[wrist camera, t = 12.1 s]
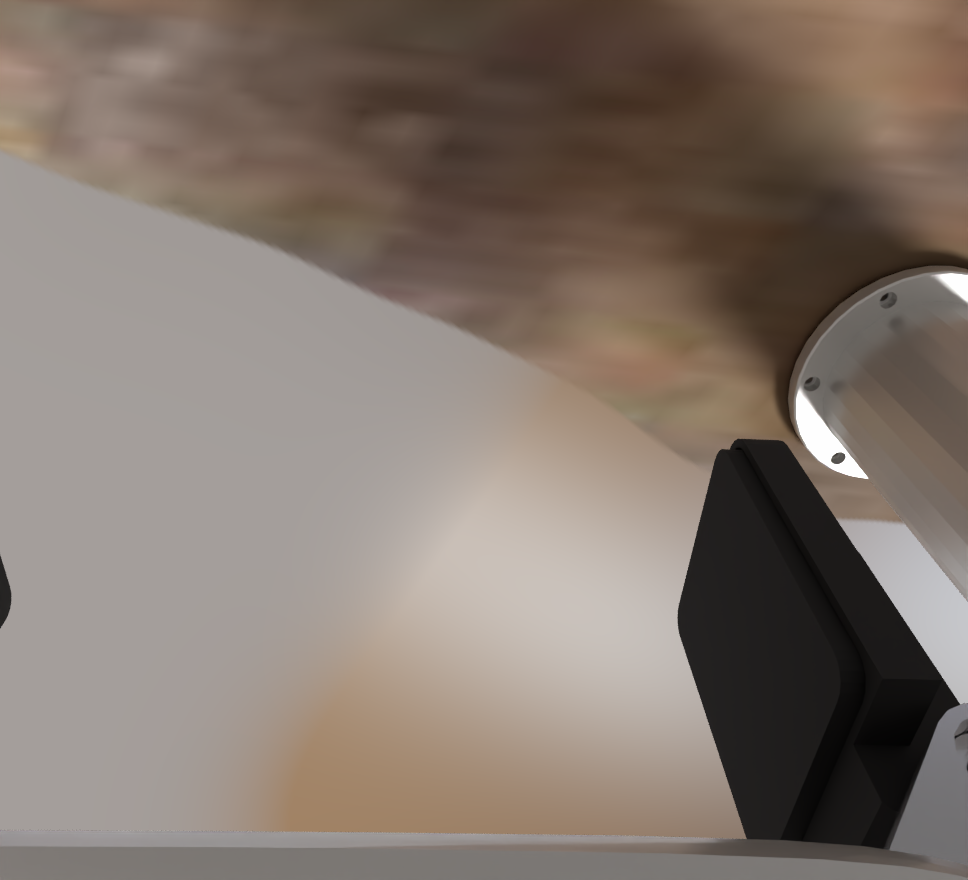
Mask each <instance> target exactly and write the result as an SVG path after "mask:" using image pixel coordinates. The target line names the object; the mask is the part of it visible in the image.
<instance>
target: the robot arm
mask: <svg viewBox="0 0 968 880" xmlns="http://www.w3.org/2000/svg"><path fill="white" fill-rule="evenodd" d="M788 405H789V414H790V419H791V422H792V424H793V427H794V430H795V432H796V434H797V436H798V437H799V439H800V440H801V442H802V443H803V445H804V446H805V448H806V449H807V450H808V451H809V452H810V453H811V454H812V455H813V456H814V457H815V458H816V460H817V461H819V462H820V463H822V464H823V465H825V466H826V467H828V468H829V469H831V470H834V471H837V472H839V473H842V474H845V475H847V476H853V477H859V478H865V479H869V480H870V481H871V483H872V484H873V485H874V486H875V488H876V489H877V490H878V491H879V492H880V494H881V495H882V496H883V497H884V499H885V500H886V501H887V502H888V504H889V505H890V506H891V507H892V509H893V510H894V511H895V512H896V514H897V515H898V516H899V517H900V518H901V520H902V521H903V522H904V523H905V525H906V526H907V527H908V528H909V530H910V531H911V532H912V533H913V534H914V536H915V537H916V538H917V540H918V541H919V542H920V543H921V544H922V546H923V547H924V548H925V549H926V551H927V552H928V553H929V554H930V556H931V557H932V558H933V559H934V561H935V562H936V563H937V564H938V565H939V567H940V568H941V569H942V571H943V572H944V573H945V574H946V576H947V577H948V578H949V579H950V580H951V582H952V583H953V584H954V585H955V587H956V588H957V589H958V590H959V592H960V593H961V594H962V595H963V597H964V598H965V599H966V600H967V601H968V269H964V268H960V267H955V266H925V267H919V268H913V269H908V270H904V271H901V272H898V273H895V274H892V275H889V276H887V277H884V278H881V279H879V280H877V281H876V282H874V283H872V284H870V285H868V286H866V287H864V288H862V289H860V290H859V291H857V292H856V293H855V294H853V295H852V296H850V297H849V298H848V299H846V300H845V301H844V302H842V303H841V304H840V305H838V306H837V307H836V308H835V309H834V310H833V311H832V312H831V313H830V314H829V315H828V316H827V317H826V318H825V319H824V320H823V321H822V322H821V323H820V324H819V326H818V327H817V328H816V330H815V331H814V332H813V334H812V335H811V336H810V338H809V339H808V340H807V342H806V344H805V345H804V347H803V349H802V351H801V353H800V355H799V357H798V359H797V361H796V363H795V367H794V370H793V373H792V376H791V379H790V385H789V394H788ZM10 605H11V590H10V586H9V582H8V579H7V576H6V572H5V569H4V566H3V563H2V559H1V556H0V628H1V626H2V625H3V623H4V621H5V620H6V618H7V616H8V613H9V610H10ZM678 629H679V634H680V637H681V640H682V643H683V646H684V649H685V653H686V656H687V659H688V662H689V665H690V668H691V670H692V674H693V677H694V680H695V683H696V686H697V689H698V692H699V695H700V698H701V701H702V704H703V707H704V710H705V713H706V716H707V719H708V722H709V725H710V729H711V731H712V734H713V738H714V740H715V743H716V747H717V750H718V752H719V756H720V759H721V762H722V765H723V768H724V771H725V774H726V777H727V780H728V783H729V786H730V789H731V792H732V795H733V798H734V801H735V804H736V807H737V811H738V814H739V817H740V819H741V823H742V825H743V829H744V832H745V835H746V838H747V839H723V838H689V837H656V836H611V835H609V836H608V835H605V836H604V835H534V834H531V835H530V834H527V835H526V834H451V833H450V834H449V833H371V832H368V833H367V832H364V833H363V832H247V831H244V832H243V831H242V832H241V831H239V832H237V831H93V830H91V831H89V830H0V880H968V703H964V704H961V705H960V703H959V702H958V701H957V699H956V698H955V696H954V694H953V693H952V692H951V690H950V689H949V687H948V685H947V684H946V682H945V681H944V679H943V678H942V676H941V675H940V673H939V672H938V670H937V669H936V667H935V666H934V665H933V663H932V661H931V660H930V658H929V657H928V656H927V654H926V652H925V651H924V649H923V648H922V646H921V645H920V643H919V642H918V640H917V639H916V637H915V636H914V634H913V633H912V631H911V630H910V628H909V627H908V625H907V624H906V622H905V621H904V619H903V618H902V617H901V615H900V613H899V612H898V610H897V609H896V607H895V606H894V604H893V603H892V601H891V600H890V598H889V597H888V595H887V594H886V592H885V591H884V589H883V588H882V586H881V585H880V583H879V582H878V581H877V579H876V578H875V576H874V574H873V573H872V571H871V570H870V568H869V567H868V565H867V564H866V562H865V561H864V559H863V558H862V556H861V555H860V553H859V552H858V551H857V550H856V548H855V547H854V545H853V544H852V543H851V541H850V539H849V538H848V536H847V535H846V533H845V532H844V530H843V529H842V527H841V526H840V524H839V523H838V521H837V520H836V518H835V517H834V515H833V514H832V512H831V511H830V509H829V508H828V506H827V505H826V503H825V502H824V500H823V499H822V497H821V496H820V494H819V493H818V491H817V490H816V488H815V487H814V485H813V484H812V482H811V481H810V479H809V478H808V476H807V475H806V473H805V472H804V470H803V469H802V467H801V465H800V464H799V462H798V461H797V459H796V458H795V456H794V455H793V453H792V452H791V450H790V449H789V447H788V446H787V445H786V444H785V443H784V442H783V441H779V440H756V439H737V440H735V441H734V443H733V444H732V446H731V448H730V450H726V449H722V450H720V451H719V452H718V454H717V456H716V459H715V462H714V466H713V470H712V474H711V478H710V483H709V486H708V490H707V494H706V499H705V502H704V506H703V511H702V515H701V518H700V522H699V526H698V531H697V535H696V539H695V543H694V547H693V551H692V555H691V559H690V563H689V567H688V571H687V575H686V579H685V583H684V587H683V591H682V595H681V599H680V603H679V608H678Z"/></svg>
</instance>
